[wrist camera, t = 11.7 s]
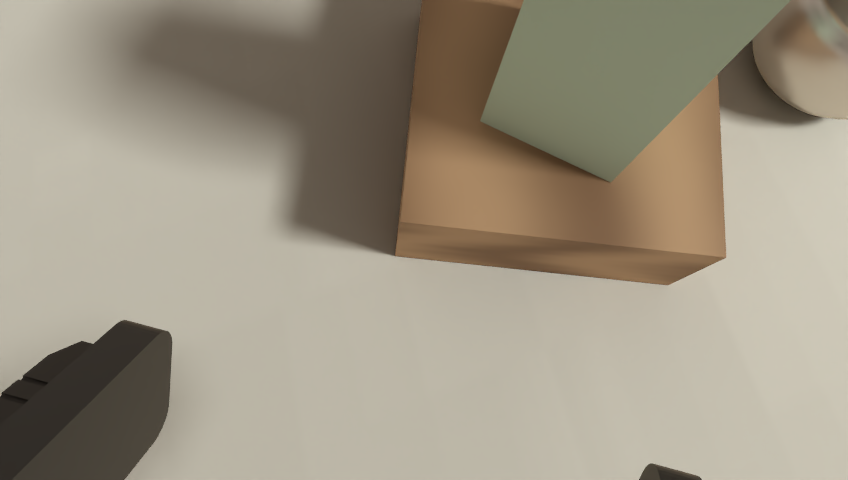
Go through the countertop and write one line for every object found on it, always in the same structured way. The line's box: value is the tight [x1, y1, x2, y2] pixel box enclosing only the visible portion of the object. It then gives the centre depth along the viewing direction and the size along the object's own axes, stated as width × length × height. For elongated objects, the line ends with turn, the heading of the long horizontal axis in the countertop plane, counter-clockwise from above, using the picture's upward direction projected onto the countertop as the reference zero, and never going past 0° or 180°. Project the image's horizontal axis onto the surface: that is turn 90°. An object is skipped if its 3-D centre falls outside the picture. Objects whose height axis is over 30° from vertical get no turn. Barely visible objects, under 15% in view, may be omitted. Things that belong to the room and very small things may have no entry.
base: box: [395, 0, 726, 285], centre depth 23 cm, size 10×10×4 cm
